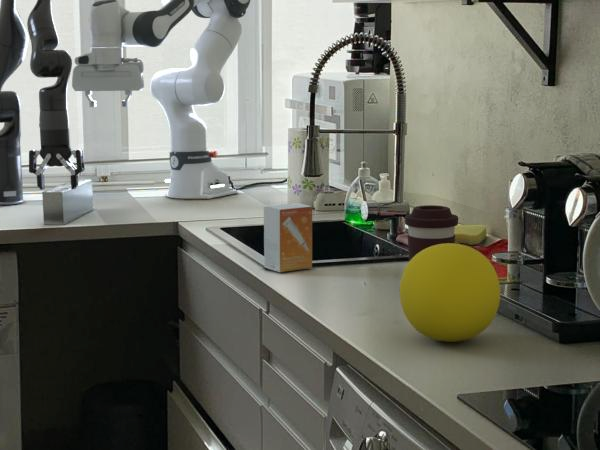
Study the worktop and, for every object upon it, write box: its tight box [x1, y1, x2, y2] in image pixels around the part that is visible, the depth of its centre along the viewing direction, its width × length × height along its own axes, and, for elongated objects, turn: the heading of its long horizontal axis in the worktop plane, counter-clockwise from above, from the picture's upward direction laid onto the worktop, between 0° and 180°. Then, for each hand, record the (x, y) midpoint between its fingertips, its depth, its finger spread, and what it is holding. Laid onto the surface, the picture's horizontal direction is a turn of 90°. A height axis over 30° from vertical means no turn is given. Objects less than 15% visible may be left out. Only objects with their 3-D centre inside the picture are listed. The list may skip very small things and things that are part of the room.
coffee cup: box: [404, 204, 459, 262], centre depth 197 cm, size 10×10×15 cm
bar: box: [41, 178, 94, 226], centre depth 285 cm, size 26×5×9 cm, turn 175°
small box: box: [263, 202, 313, 273], centre depth 214 cm, size 8×6×13 cm
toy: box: [399, 243, 501, 343], centre depth 160 cm, size 15×15×15 cm
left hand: (57, 189), depth 275 cm, fingers open, 8 cm apart
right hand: (109, 107), depth 298 cm, fingers open, 8 cm apart
